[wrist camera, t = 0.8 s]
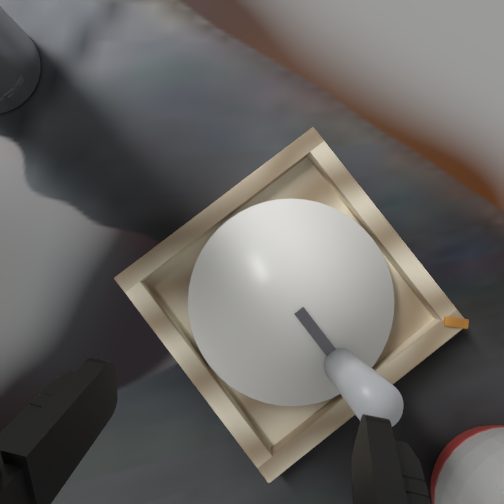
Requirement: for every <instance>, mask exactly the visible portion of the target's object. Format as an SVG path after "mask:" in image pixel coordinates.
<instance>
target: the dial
mask: <svg viewBox="0 0 504 504" xmlns="http://www.w3.org/2000/svg"><path fill="white" fill-rule="evenodd" d="M394 302H395V300H394V289H393V283H392V279H391V274H390V271H389V268H388V266H387V263H386V260H385V258H384V256H383V255H382V253H381V251H380V249H379V247H378V246H377V244H376V243H375V242H374V240H373V239H372V237H371V236H370V235H369V234H368V233H367V232H366V231H365V230H364V228H362V227H361V226H360V225H359V224H358V223H357V222H356V221H354V220H353V219H352V218H350V217H349V216H347V215H346V214H344V213H343V212H341V211H339V210H337V209H335V208H333V207H331V206H328V205H325V204H322V203H319V202H315V201H310V200H305V199H292V198H290V199H277V200H272V201H266V202H263V203H260V204H257V205H254V206H251V207H249V208H247V209H245V210H243V211H241V212H239V213H238V214H236V215H235V216H233V217H232V218H230V219H229V220H227V221H226V222H225V223H224V224H223V225H222V226H221V227H219V228H218V229H217V231H216V232H215V233H214V234H213V235H212V236H211V237H210V238H209V240H208V241H207V243H206V244H205V246H204V247H203V249H202V251H201V253H200V255H199V257H198V259H197V261H196V263H195V266H194V269H193V272H192V275H191V280H190V285H189V293H188V312H189V319H190V324H191V329H192V332H193V335H194V338H195V341H196V343H197V345H198V347H199V350H200V352H201V354H202V355H203V357H204V358H205V360H206V361H207V363H208V364H209V366H210V367H211V368H212V369H213V370H214V371H215V373H216V374H217V375H218V376H219V377H220V378H221V379H222V380H224V381H225V382H226V383H227V384H228V385H229V386H231V387H232V388H234V389H235V390H237V391H238V392H240V393H242V394H244V395H246V396H248V397H250V398H252V399H255V400H258V401H261V402H264V403H268V404H273V405H278V406H305V405H310V404H315V403H320V402H323V401H325V400H328V399H331V398H333V397H335V396H337V395H339V394H341V395H342V397H343V398H344V400H345V401H346V402H347V404H348V405H349V406H350V408H351V409H352V411H353V412H354V413H355V415H356V416H357V417H358V419H359V420H361V417H362V415H363V414H366V415H370V416H375V417H380V418H385V419H389V420H390V422H391V425H392V427H393V426H394V425H395V424H396V423H397V422H398V421H399V420H400V418H401V416H402V413H403V407H404V405H403V399H402V396H401V394H400V392H399V391H398V390H397V388H396V387H394V386H393V385H392V384H391V383H390V382H388V381H387V380H386V379H385V378H383V377H382V376H381V375H380V374H378V373H377V372H376V371H375V370H374V369H372V367H373V366H374V364H375V363H376V361H377V360H378V358H379V356H380V355H381V353H382V351H383V349H384V347H385V345H386V343H387V341H388V337H389V334H390V331H391V328H392V322H393V317H394Z"/></svg>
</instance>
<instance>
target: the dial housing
mask: <svg viewBox="0 0 504 504" xmlns="http://www.w3.org/2000/svg"><path fill="white" fill-rule="evenodd" d="M290 198H292V199H305V200H310V201H315V202H319V203H322V204H325V205H328V206H331V207H333V208H335V209H337V210H339V211H341V212H343V213H344V214H346V215H347V216H349V217H350V218H352V219H353V220H354V221H356V222H357V223H358V224H359V225H360V226H361V227H362V228H364V230H365V231H366V232H367V233H368V234H369V235H370V236H371V237H372V239H373V240H374V242H375V243H376V244H377V246H378V247H379V249H380V251H381V253H382V255H383V256H384V258H385V260H386V263H387V266H388V268H389V271H390V274H391V279H392V283H393V289H394V300H395V302H394V317H393V322H392V328H391V331H390V334H389V337H388V341H387V343H386V345H385V347H384V349H383V351H382V353H381V355H380V356H379V358H378V360H377V361H376V363H375V364H374V366H373V367H372V369H374V370H375V371H376V372H377V373H378V374H380V375H381V376H382V377H383V378H385V379H386V380H387V381H388V382H390V383H391V384H392V385H393V384H394V383H395V382H396V381H398V380H399V379H400V378H401V377H403V376H404V375H405V374H406V373H408V372H409V371H410V370H411V369H413V368H414V367H415V366H416V365H418V364H419V363H420V362H422V361H423V360H424V359H425V358H427V357H428V356H429V355H430V354H432V353H433V352H434V351H435V350H437V349H438V348H439V347H440V346H442V345H443V344H444V343H445V342H447V341H448V340H449V339H450V338H452V337H453V336H454V335H455V334H457V333H458V332H459V331H460V330H462V329H463V328H465V329H468V322H469V320H468V319H464V318H463V317H462V315H461V314H460V313H459V312H458V310H457V309H456V308H455V306H454V305H453V304H452V303H451V301H450V300H449V299H448V298H447V296H446V295H445V294H444V292H443V291H442V290H441V289H440V287H439V286H438V285H437V284H436V282H435V281H434V280H433V278H432V277H431V276H430V275H429V273H428V272H427V271H426V270H425V268H424V267H423V266H422V265H421V263H420V262H419V261H418V259H417V258H416V257H415V256H414V254H413V253H412V252H411V251H410V249H409V248H408V247H407V245H406V244H405V243H404V242H403V240H402V239H401V238H400V237H399V235H398V234H397V233H396V231H395V230H394V229H393V228H392V226H391V225H390V224H389V223H388V221H387V220H386V219H385V217H384V216H383V215H382V214H381V212H380V211H379V210H378V209H377V207H376V206H375V205H374V203H373V202H372V201H371V200H370V198H369V197H368V196H367V195H366V193H365V192H364V191H363V190H362V188H361V187H360V186H359V184H358V183H357V182H356V181H355V179H354V178H353V177H352V176H351V174H350V173H349V172H348V170H347V169H346V168H345V167H344V165H343V164H342V163H341V162H340V160H339V159H338V158H337V156H336V155H335V154H334V153H333V151H332V150H331V149H330V148H329V146H328V145H327V144H326V142H325V141H324V140H323V139H322V137H321V136H320V135H319V134H318V132H317V131H316V130H315V129H314V127H312V128H311V129H310V130H308V131H307V132H306V133H304V134H303V135H302V136H300V137H299V138H298V139H296V140H295V141H294V142H293V143H291V144H290V145H289V146H287V147H286V148H285V149H283V150H282V151H281V152H279V153H278V154H277V155H275V156H274V157H273V158H271V159H270V160H269V161H267V162H266V163H265V164H264V165H262V166H261V167H260V168H258V169H257V170H256V171H254V172H253V173H252V174H250V175H249V176H248V177H246V178H245V179H244V180H242V181H241V182H240V183H238V184H237V185H236V186H235V187H233V188H232V189H231V190H229V191H228V192H227V193H225V194H224V195H223V196H221V197H220V198H219V199H217V200H216V201H215V202H213V203H212V204H211V205H210V206H208V207H207V208H206V209H204V210H203V211H202V212H200V213H199V214H198V215H196V216H195V217H194V218H192V219H191V220H190V221H188V222H187V223H186V224H184V225H183V226H182V227H181V228H179V229H178V230H177V231H175V232H174V233H173V234H171V235H170V236H169V237H167V238H166V239H165V240H163V241H162V242H161V243H159V244H158V245H157V246H156V247H154V248H153V249H152V250H150V251H149V252H148V253H146V254H145V255H144V256H142V257H141V258H140V259H138V260H137V261H136V262H134V263H133V264H132V265H130V266H129V267H128V268H127V269H125V270H124V271H123V272H121V273H120V274H119V275H117V276H116V277H115V278H114V279H115V280H116V281H117V283H118V284H119V285H120V287H121V288H122V289H123V291H124V292H125V293H126V294H127V296H128V297H129V299H130V300H131V301H132V303H133V304H134V305H135V307H136V308H137V309H138V311H139V312H140V313H141V315H142V316H143V317H144V319H145V320H146V321H147V322H148V324H149V325H150V327H151V328H152V329H153V331H154V332H155V333H156V335H157V336H158V337H159V338H160V340H161V341H162V342H163V344H164V345H165V346H166V348H167V349H168V350H169V352H170V353H171V354H172V356H173V357H174V358H175V360H176V361H177V362H178V364H179V365H180V366H181V368H182V369H183V370H184V372H185V373H186V374H187V376H188V377H189V378H190V380H191V381H192V382H193V384H194V385H195V386H196V388H197V389H198V390H199V392H200V393H201V394H202V396H203V397H204V398H205V399H206V401H207V402H208V403H209V405H210V406H211V407H212V409H213V410H214V411H215V413H216V414H217V415H218V417H219V418H220V419H221V421H222V422H223V423H224V425H225V426H226V427H227V429H228V430H229V431H230V433H231V434H232V435H233V437H234V438H235V439H236V441H237V442H238V443H239V445H240V446H241V447H242V449H243V450H244V451H245V453H246V454H247V455H248V457H249V458H250V459H251V460H252V462H253V463H254V464H255V466H256V467H257V468H258V470H259V471H260V472H261V474H262V475H263V476H264V478H265V479H266V480H267V482H268V483H270V482H271V481H273V480H274V479H275V478H276V477H278V476H279V475H280V474H281V473H283V472H284V471H285V470H286V469H288V468H289V467H290V466H291V465H293V464H294V463H295V462H296V461H298V460H299V459H300V458H301V457H303V456H304V455H305V454H306V453H308V452H309V451H310V450H311V449H313V448H314V447H315V446H316V445H318V444H319V443H320V442H321V441H323V440H324V439H325V438H326V437H328V436H329V435H330V434H331V433H333V432H334V431H335V430H336V429H338V428H339V427H340V426H341V425H343V424H344V423H345V422H346V421H348V420H349V419H350V418H351V417H353V416H354V415H355V413H354V412H353V411H352V409H351V408H350V406H349V405H348V404H347V402H346V401H345V400H344V398H343V397H342V395H341V394H339V395H337V396H335V397H333V398H331V399H328V400H325V401H323V402H320V403H315V404H310V405H305V406H278V405H273V404H268V403H264V402H261V401H258V400H255V399H252V398H250V397H248V396H246V395H244V394H242V393H240V392H238V391H237V390H235V389H234V388H232V387H231V386H229V385H228V384H227V383H226V382H225V381H224V380H222V379H221V378H220V377H219V376H218V375H217V374H216V373H215V371H214V370H213V369H212V368H211V367H210V366H209V364H208V363H207V361H206V360H205V358H204V357H203V355H202V354H201V352H200V350H199V347H198V345H197V343H196V341H195V338H194V335H193V332H192V329H191V324H190V319H189V312H188V293H189V285H190V280H191V275H192V272H193V269H194V266H195V263H196V261H197V259H198V257H199V255H200V253H201V251H202V249H203V247H204V246H205V244H206V243H207V241H208V240H209V238H210V237H211V236H212V235H213V234H214V233H215V232H216V231H217V229H218V228H219V227H221V226H222V225H223V224H224V223H225V222H226V221H227V220H229V219H230V218H232V217H233V216H235V215H236V214H238V213H239V212H241V211H243V210H245V209H247V208H249V207H251V206H254V205H257V204H260V203H263V202H266V201H272V200H277V199H290Z"/></svg>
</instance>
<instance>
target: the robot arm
mask: <svg viewBox="0 0 504 504" xmlns="http://www.w3.org/2000/svg"><path fill="white" fill-rule="evenodd" d="M40 71H41V68H40V57H39V53H38V50H37V48H36V46H35V44H34V43H33V41H32V40H31V39H30V37H29V36H28V35H27V34H26V33H25V32H24V31H23V30H22V29H21V28H20V27H19V26H18V25H17V23H16V22H15V21H14V20H13V19H12V18H11V17H10V16H9V15H8V14H7V13H6V12H5V11H4V10H3V9H2V7H1V6H0V113H5V112H8V111H10V110H13V109H15V108H16V107H18V106H20V105H21V104H22V103H24V102H25V101H26V100H27V99H28V98H29V97H30V95H31V94H32V93H33V91H34V90H35V88H36V85H37V83H38V81H39V76H40ZM116 404H117V386H116V374H115V365H114V363H113V362H109V361H105V360H100V359H95V358H89V359H87V360H86V361H85V362H84V363H83V364H82V365H81V366H80V367H79V368H78V369H77V371H75V372H74V371H68V372H67V373H65V374H63V375H61V376H60V377H58V378H56V379H55V380H53V381H52V382H51V383H50V384H49V385H48V386H47V387H46V388H45V389H44V390H43V391H42V392H41V394H40V395H38V396H37V397H36V398H35V399H34V400H33V401H32V402H31V403H30V405H29V406H27V407H26V408H25V409H24V410H23V411H22V412H21V413H20V414H19V415H18V416H17V417H16V418H15V419H14V420H13V421H12V422H11V423H10V424H9V425H8V426H7V427H6V428H5V429H4V430H2V431H1V432H0V504H51V503H52V501H53V500H54V498H55V497H56V496H57V494H58V493H59V491H60V490H61V488H62V487H63V486H64V484H65V483H66V481H67V480H68V478H69V477H70V475H71V474H72V473H73V471H74V470H75V468H76V467H77V465H78V464H79V463H80V461H81V460H82V458H83V457H84V455H85V454H86V453H87V451H88V450H89V448H90V447H91V445H92V444H93V443H94V441H95V440H96V438H97V437H98V435H99V434H100V433H101V431H102V430H103V428H104V427H105V425H106V424H107V423H108V421H109V420H110V418H111V417H112V415H113V413H114V410H115V408H116ZM351 479H352V492H353V504H431V500H429V493H428V489H427V486H426V484H425V478H424V475H423V471H422V467H421V464H420V460H419V459H418V457H417V456H416V455H415V453H414V452H413V450H412V449H411V447H410V446H409V444H408V443H406V442H401V441H396V440H395V439H394V435H393V430H392V425H391V422H390V420H389V419H385V418H380V417H375V416H370V415H366V414H363V415H362V417H361V420H360V424H359V428H358V432H357V436H356V439H355V443H354V447H353V451H352V459H351Z"/></svg>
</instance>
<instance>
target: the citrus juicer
mask: <svg viewBox="0 0 504 504" xmlns="http://www.w3.org/2000/svg"><path fill="white" fill-rule="evenodd" d="M430 491H431V499H432V504H504V426H503V425H486V426H478V427H475V428H472V429H469V430H466V431H465V432H463V433H461V434H459V435H457V436H456V437H455V438H454V439H453V440H451V441H450V442H449V443H448V444H447V445H446V447H445V448H444V449H443V450H442V452H441V453H440V455H439V457H438V459H437V461H436V463H435V465H434V469H433V472H432V476H431V487H430Z"/></svg>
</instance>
